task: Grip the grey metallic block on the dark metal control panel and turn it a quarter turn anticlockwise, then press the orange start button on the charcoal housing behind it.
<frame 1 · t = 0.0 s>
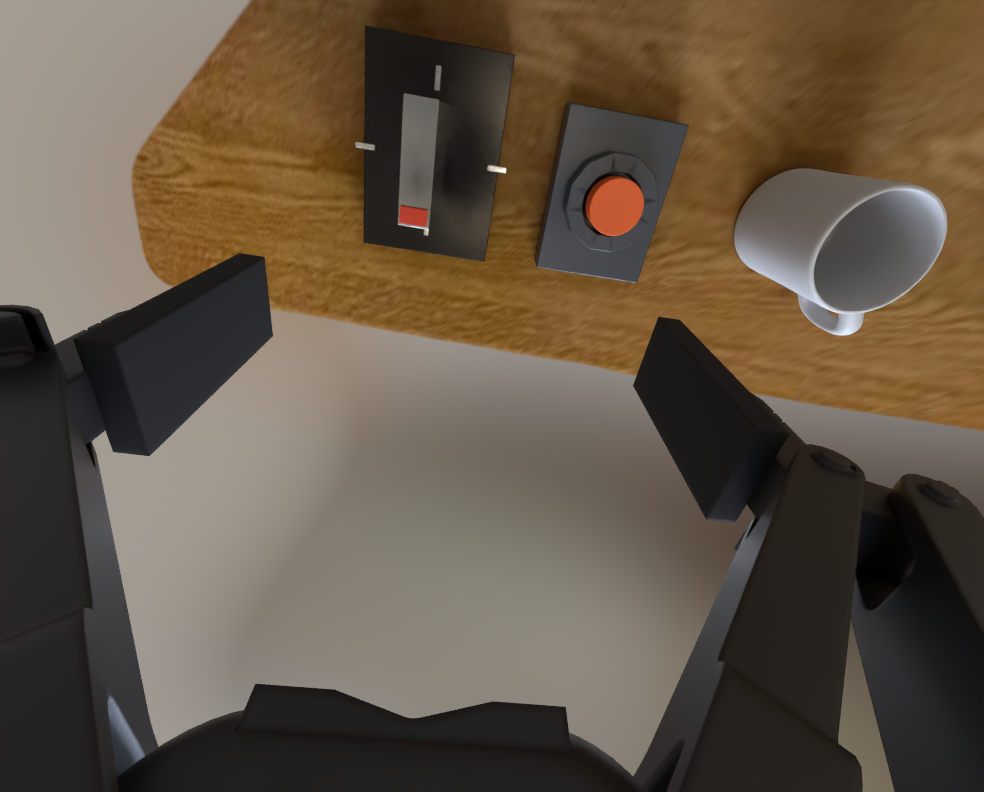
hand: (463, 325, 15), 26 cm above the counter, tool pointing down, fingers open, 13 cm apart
mug: (783, 241, 40), on the counter
grey metallic block: (425, 161, 30), point 7 cm above the counter, hinge at 0.0°
button box: (601, 197, 38), on the counter
start button: (613, 206, 34), point 4 cm above the counter, slide at 0.1 cm
panel: (436, 155, 36), on the counter
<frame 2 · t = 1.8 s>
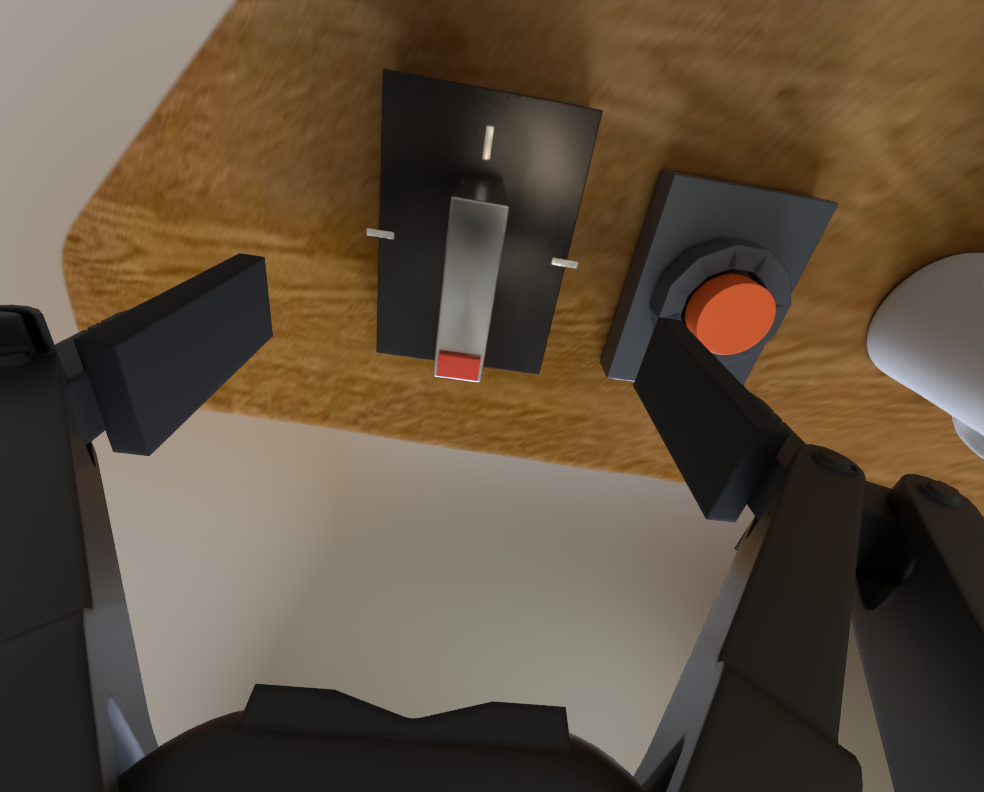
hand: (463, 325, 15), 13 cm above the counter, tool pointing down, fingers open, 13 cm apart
mug: (930, 339, 30), on the counter
grey metallic block: (471, 270, 20), point 7 cm above the counter, hinge at 0.0°
button box: (696, 287, 28), on the counter
start button: (728, 314, 24), point 4 cm above the counter, slide at 0.1 cm
panel: (475, 235, 26), on the counter
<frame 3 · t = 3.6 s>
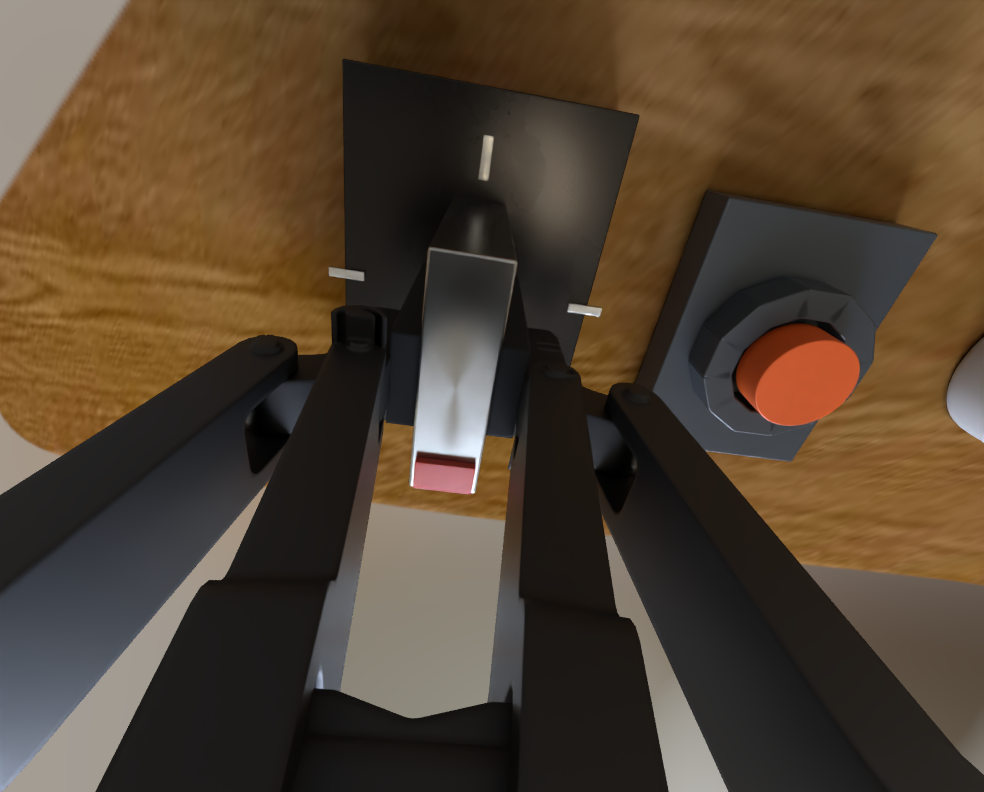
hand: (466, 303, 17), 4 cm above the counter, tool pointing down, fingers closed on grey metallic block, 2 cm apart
grey metallic block: (463, 331, 15), point 7 cm above the counter, hinge at 0.0°, touching gripper
button box: (742, 332, 23), on the counter
start button: (794, 375, 19), point 4 cm above the counter, slide at 0.1 cm
panel: (471, 270, 21), on the counter
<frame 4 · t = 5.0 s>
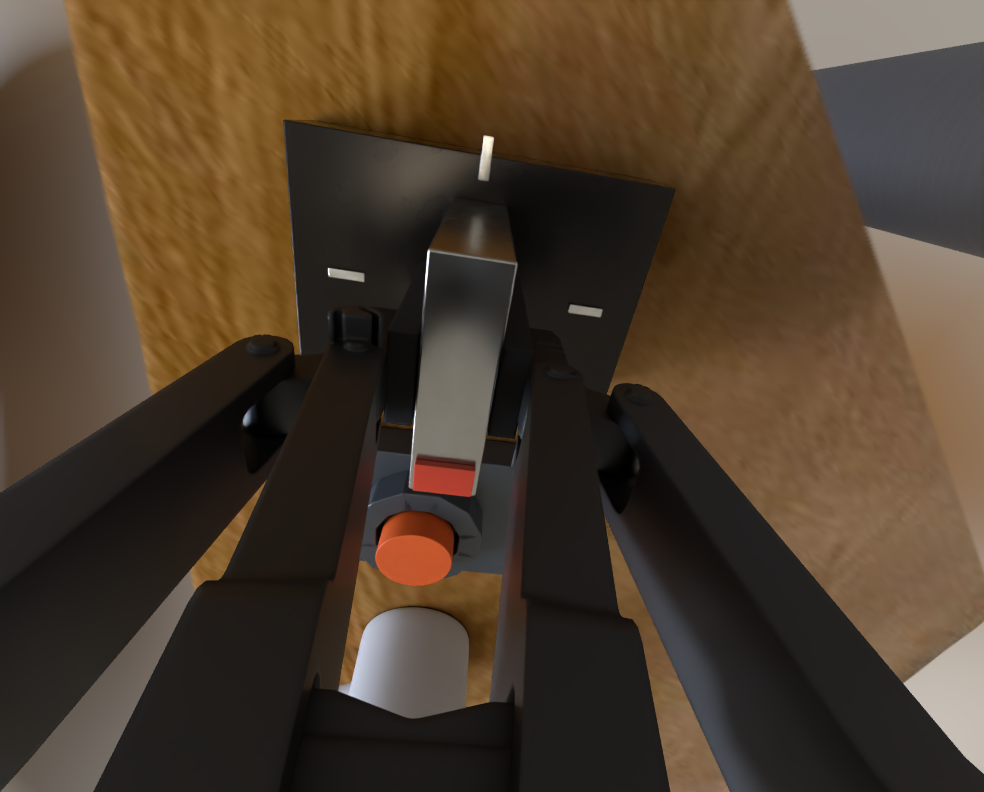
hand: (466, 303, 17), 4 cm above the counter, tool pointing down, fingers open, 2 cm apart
mug: (398, 639, 37), on the counter
grey metallic block: (463, 332, 15), point 7 cm above the counter, hinge at 90.0°
button box: (426, 490, 28), on the counter
start button: (416, 548, 24), point 4 cm above the counter, slide at 0.1 cm
panel: (471, 271, 21), on the counter
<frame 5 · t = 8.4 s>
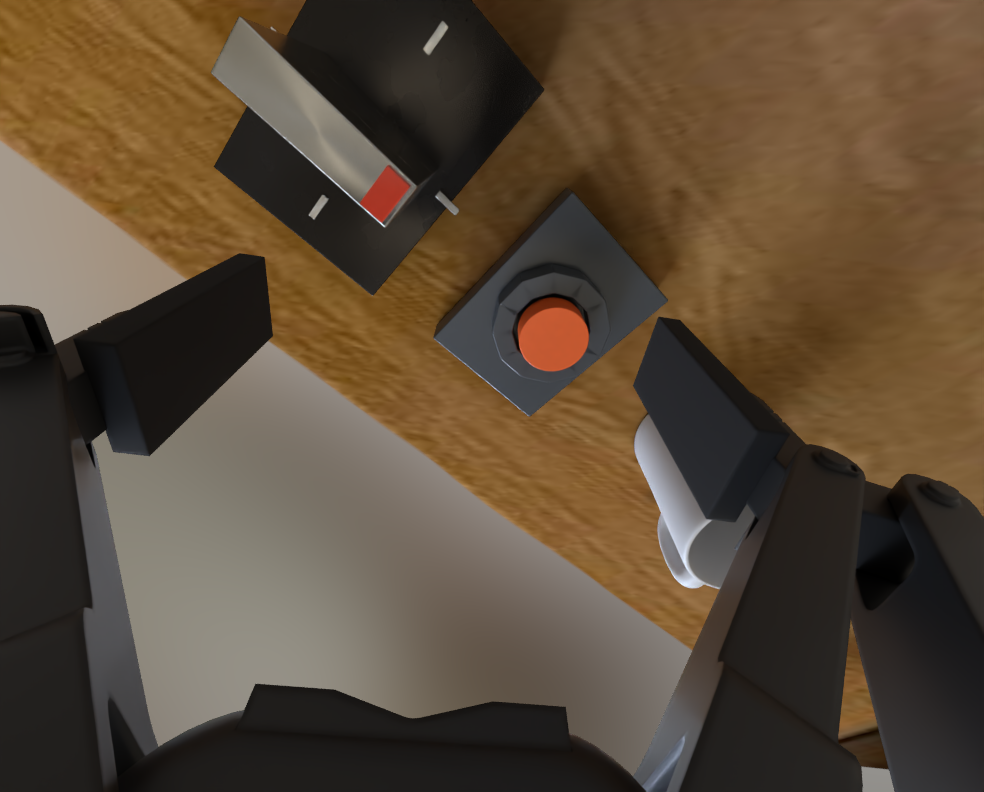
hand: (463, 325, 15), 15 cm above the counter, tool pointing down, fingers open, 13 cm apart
mug: (676, 451, 37), on the counter
grey metallic block: (350, 131, 19), point 7 cm above the counter, hinge at 90.0°
button box: (544, 307, 30), on the counter
start button: (552, 334, 26), point 4 cm above the counter, slide at 0.1 cm
panel: (384, 129, 25), on the counter
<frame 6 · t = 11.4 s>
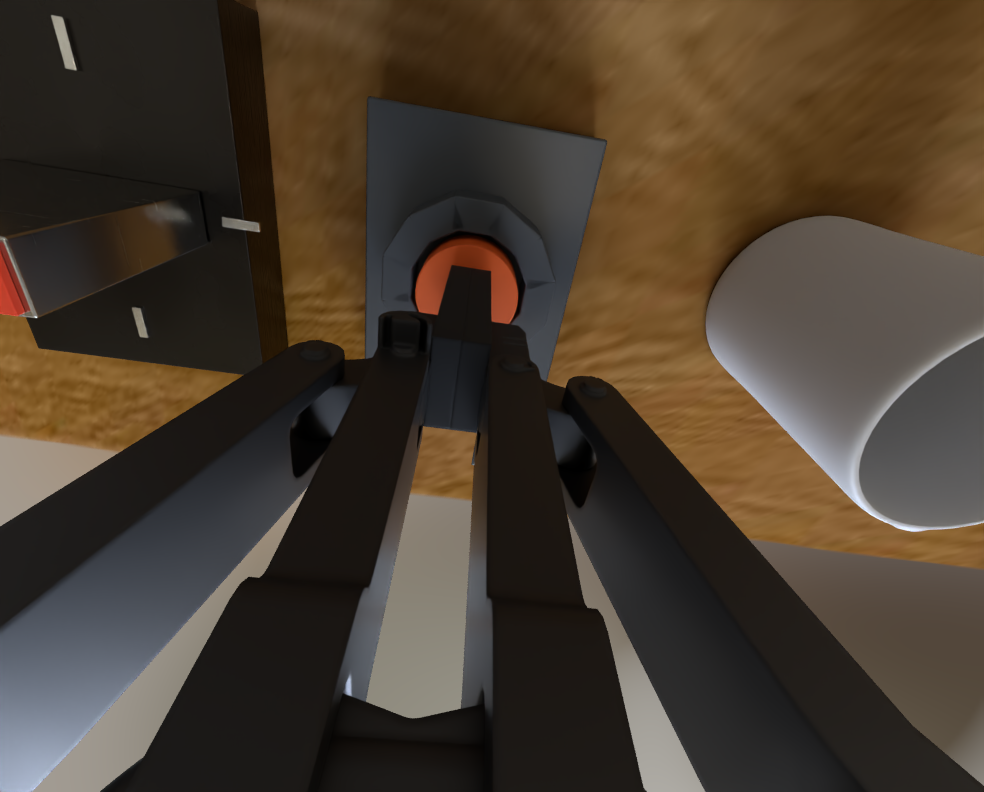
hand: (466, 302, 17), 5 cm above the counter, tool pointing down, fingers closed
mug: (789, 332, 24), on the counter
grey metallic block: (11, 224, 14), point 7 cm above the counter, hinge at 90.0°
button box: (471, 264, 21), on the counter
start button: (467, 290, 18), point 4 cm above the counter, slide at -0.5 cm, touching gripper
panel: (159, 192, 20), on the counter
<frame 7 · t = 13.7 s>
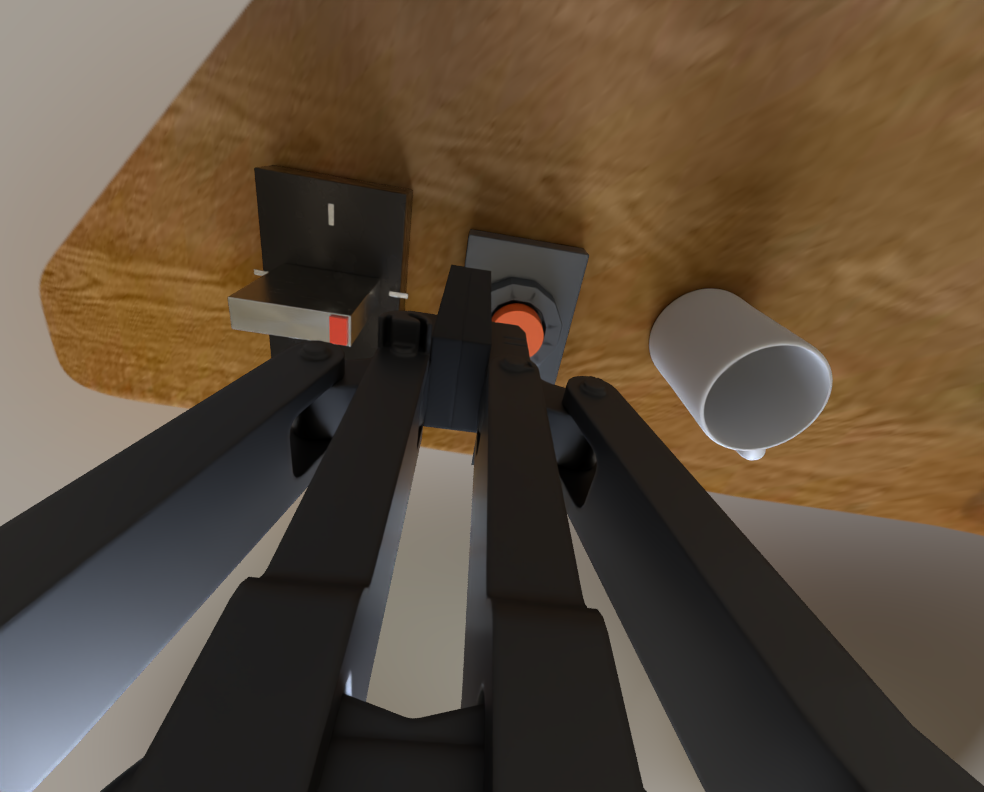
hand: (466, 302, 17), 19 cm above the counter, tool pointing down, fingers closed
mug: (699, 352, 40), on the counter
grey metallic block: (313, 301, 30), point 7 cm above the counter, hinge at 90.0°
button box: (513, 312, 38), on the counter
start button: (515, 332, 34), point 4 cm above the counter, slide at 0.1 cm
panel: (344, 273, 36), on the counter
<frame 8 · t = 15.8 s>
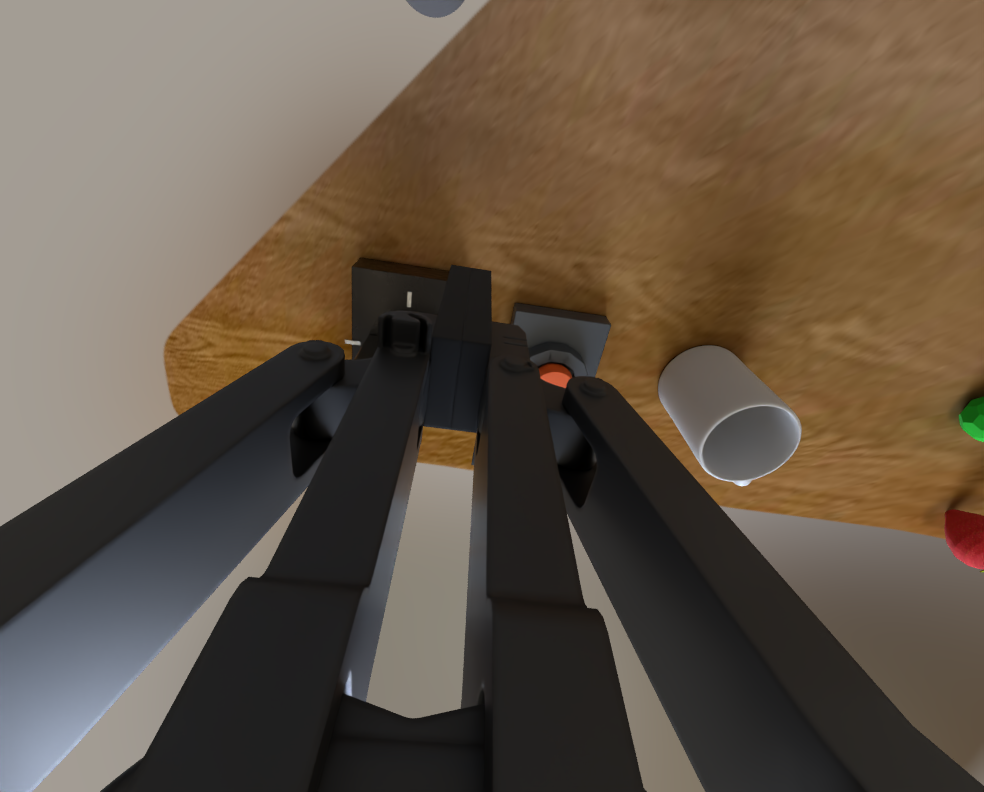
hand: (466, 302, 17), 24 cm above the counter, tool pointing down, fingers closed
mug: (699, 393, 48), on the counter
grey metallic block: (398, 370, 38), point 7 cm above the counter, hinge at 90.0°
polyhedron: (970, 405, 49), on the counter
strawberry: (947, 510, 57), on the counter
button box: (547, 364, 46), on the counter
start button: (552, 386, 42), point 4 cm above the counter, slide at 0.1 cm
panel: (411, 336, 44), on the counter
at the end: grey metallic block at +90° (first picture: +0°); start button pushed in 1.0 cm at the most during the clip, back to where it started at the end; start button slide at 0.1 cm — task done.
